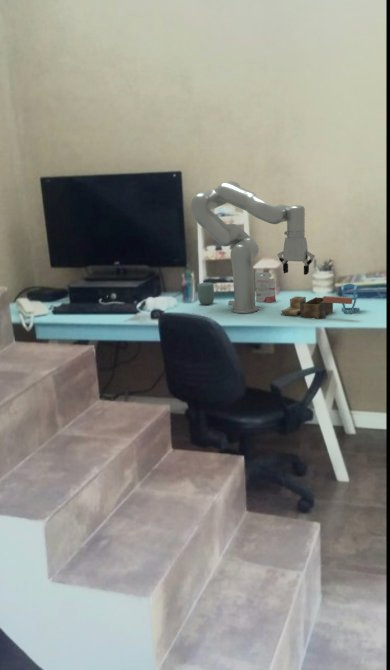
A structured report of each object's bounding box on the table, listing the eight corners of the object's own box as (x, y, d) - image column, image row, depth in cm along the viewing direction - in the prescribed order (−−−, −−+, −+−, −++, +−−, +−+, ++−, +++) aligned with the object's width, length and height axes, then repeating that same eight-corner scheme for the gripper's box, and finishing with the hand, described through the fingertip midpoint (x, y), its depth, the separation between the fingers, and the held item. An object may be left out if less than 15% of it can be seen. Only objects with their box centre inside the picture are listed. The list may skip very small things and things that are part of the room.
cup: (217, 302, 317) (216, 282, 315) (209, 306, 311) (207, 285, 309) (204, 301, 322) (202, 282, 319) (195, 305, 315) (194, 285, 313)
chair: (339, 314, 277) (338, 286, 274) (341, 309, 284) (341, 282, 281) (357, 314, 274) (357, 286, 271) (359, 309, 282) (359, 282, 279)
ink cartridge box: (276, 300, 312) (274, 270, 308) (271, 303, 308) (270, 272, 304) (260, 299, 316) (259, 270, 313) (255, 302, 313) (254, 272, 309)
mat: (280, 314, 283) (280, 313, 283) (292, 308, 293) (292, 308, 292) (301, 316, 277) (301, 315, 277) (312, 310, 287) (312, 309, 287)
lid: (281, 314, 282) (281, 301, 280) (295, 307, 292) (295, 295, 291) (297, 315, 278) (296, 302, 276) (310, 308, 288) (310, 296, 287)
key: (323, 302, 269) (322, 296, 268) (324, 301, 270) (324, 295, 270) (350, 304, 262) (350, 298, 261) (352, 303, 263) (352, 297, 263)
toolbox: (300, 317, 276) (299, 301, 274) (313, 310, 287) (313, 295, 285) (322, 319, 270) (322, 303, 268) (335, 311, 281) (335, 296, 279)
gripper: (273, 235, 279) (274, 273, 284) (310, 236, 270) (310, 276, 275) (281, 232, 285) (282, 270, 290) (318, 234, 276) (317, 273, 280)
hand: (295, 273), depth 282 cm, fingers open, 9 cm apart
